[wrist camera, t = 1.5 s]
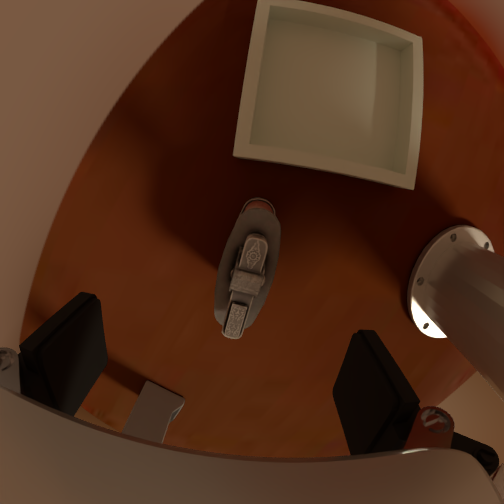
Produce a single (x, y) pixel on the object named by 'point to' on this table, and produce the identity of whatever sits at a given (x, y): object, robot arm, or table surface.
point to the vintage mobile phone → (153, 413)
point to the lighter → (247, 267)
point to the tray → (332, 93)
